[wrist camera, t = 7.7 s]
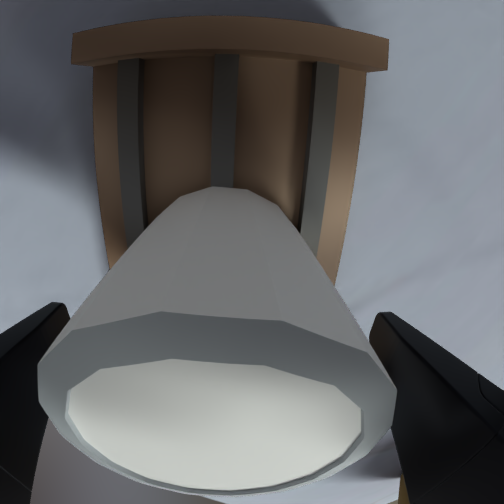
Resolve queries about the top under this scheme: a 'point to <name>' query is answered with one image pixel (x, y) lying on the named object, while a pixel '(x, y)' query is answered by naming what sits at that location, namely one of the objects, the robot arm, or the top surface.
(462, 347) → the top surface
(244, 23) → the rack
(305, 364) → the white tapered cylinder
